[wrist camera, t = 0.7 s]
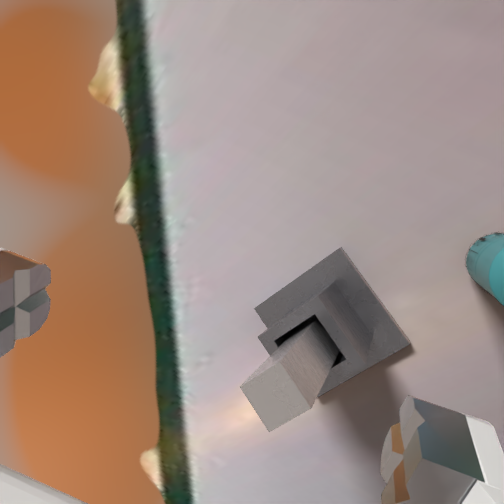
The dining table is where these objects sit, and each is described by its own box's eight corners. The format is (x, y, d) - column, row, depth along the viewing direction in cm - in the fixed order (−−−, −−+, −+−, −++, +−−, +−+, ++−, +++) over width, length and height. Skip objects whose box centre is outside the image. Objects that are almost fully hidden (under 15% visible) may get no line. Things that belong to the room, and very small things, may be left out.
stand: (409, 340, 50) (411, 382, 37) (317, 394, 55) (290, 448, 42) (341, 247, 52) (320, 256, 39) (257, 306, 57) (214, 331, 44)
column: (349, 331, 51) (311, 408, 30) (321, 348, 52) (266, 433, 31) (329, 304, 51) (279, 361, 31) (302, 322, 52) (237, 388, 32)
